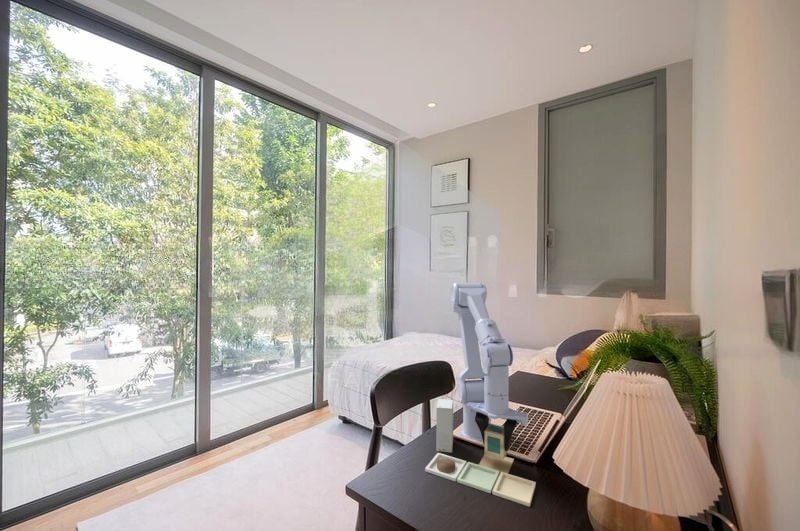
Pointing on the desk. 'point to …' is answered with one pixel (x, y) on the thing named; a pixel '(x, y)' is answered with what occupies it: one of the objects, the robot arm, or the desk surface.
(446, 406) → the skincare box
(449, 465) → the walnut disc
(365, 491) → the desk surface
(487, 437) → the beige block teal panels
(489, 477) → the tray sage
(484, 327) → the robot arm
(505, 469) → the cork pad
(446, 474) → the tray white
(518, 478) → the tray sand
